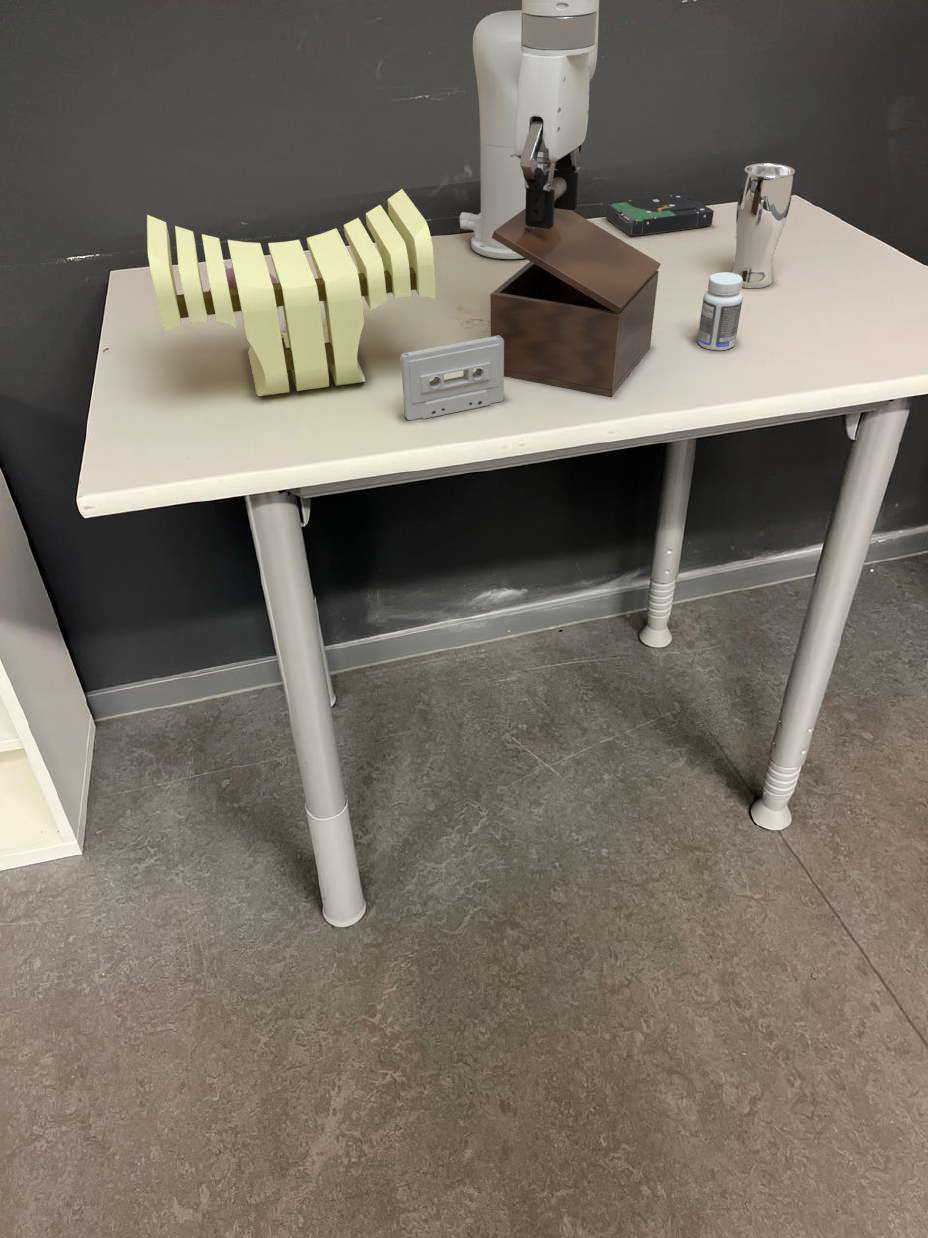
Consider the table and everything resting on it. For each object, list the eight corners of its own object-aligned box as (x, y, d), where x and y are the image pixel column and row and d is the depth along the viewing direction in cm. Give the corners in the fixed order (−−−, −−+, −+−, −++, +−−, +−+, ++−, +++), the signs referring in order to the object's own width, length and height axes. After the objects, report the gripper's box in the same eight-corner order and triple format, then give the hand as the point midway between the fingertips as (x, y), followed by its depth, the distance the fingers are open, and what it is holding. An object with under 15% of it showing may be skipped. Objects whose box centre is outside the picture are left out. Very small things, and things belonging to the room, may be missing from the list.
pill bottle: (736, 337, 119) (748, 272, 113) (732, 353, 116) (744, 286, 110) (699, 333, 120) (709, 268, 115) (694, 348, 117) (703, 282, 111)
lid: (491, 237, 102) (508, 192, 98) (542, 200, 112) (559, 158, 108) (617, 314, 101) (640, 271, 97) (657, 269, 111) (679, 229, 107)
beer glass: (770, 272, 136) (791, 162, 126) (778, 290, 131) (800, 176, 121) (722, 271, 137) (740, 162, 127) (728, 289, 131) (746, 176, 122)
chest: (490, 373, 113) (490, 293, 106) (536, 328, 123) (539, 253, 116) (611, 397, 107) (618, 314, 101) (650, 348, 117) (659, 270, 111)
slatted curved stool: (185, 417, 106) (147, 260, 94) (181, 360, 118) (147, 214, 106) (439, 382, 111) (432, 229, 100) (410, 330, 123) (402, 188, 111)
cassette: (408, 423, 104) (403, 358, 99) (402, 415, 105) (398, 351, 100) (505, 402, 107) (506, 339, 102) (499, 395, 108) (499, 332, 103)
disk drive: (682, 209, 160) (604, 218, 156) (685, 192, 158) (605, 201, 155) (712, 227, 152) (630, 237, 149) (715, 210, 150) (632, 219, 147)
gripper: (557, 17, 101) (550, 191, 112) (487, 45, 89) (488, 236, 101) (622, 21, 98) (608, 199, 110) (559, 50, 86) (552, 246, 98)
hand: (551, 215), depth 105 cm, fingers closed on lid, 6 cm apart
